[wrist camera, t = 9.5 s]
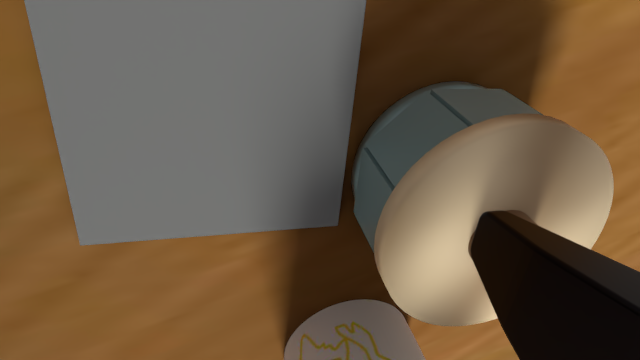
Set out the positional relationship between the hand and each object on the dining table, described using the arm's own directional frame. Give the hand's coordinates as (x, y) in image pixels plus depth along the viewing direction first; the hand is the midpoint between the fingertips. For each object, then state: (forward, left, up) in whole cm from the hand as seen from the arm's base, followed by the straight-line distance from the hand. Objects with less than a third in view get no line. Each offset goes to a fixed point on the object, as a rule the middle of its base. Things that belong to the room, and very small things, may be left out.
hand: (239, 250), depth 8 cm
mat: (0, -3, -12) cm, 13 cm away
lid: (+11, -6, -8) cm, 15 cm away
